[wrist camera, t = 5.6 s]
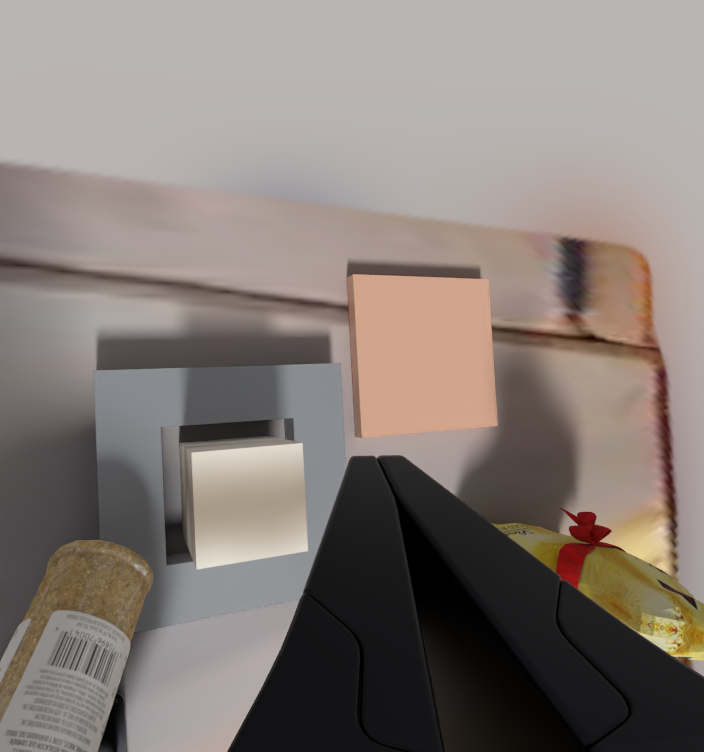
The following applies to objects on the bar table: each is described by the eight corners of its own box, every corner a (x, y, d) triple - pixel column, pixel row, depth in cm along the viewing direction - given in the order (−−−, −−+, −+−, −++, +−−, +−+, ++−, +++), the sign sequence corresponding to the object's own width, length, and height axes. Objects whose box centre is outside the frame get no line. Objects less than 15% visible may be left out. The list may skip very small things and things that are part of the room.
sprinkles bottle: (30, 552, 24) (-229, 1030, 13) (109, 523, 23) (-108, 1027, 12) (103, 601, 26) (-65, 1036, 16) (178, 577, 25) (50, 1034, 14)
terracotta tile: (488, 425, 37) (497, 425, 36) (355, 436, 34) (361, 437, 33) (479, 282, 38) (488, 279, 37) (346, 277, 34) (352, 274, 33)
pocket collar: (340, 578, 33) (352, 588, 31) (105, 623, 28) (103, 639, 26) (329, 365, 33) (340, 363, 31) (96, 372, 28) (93, 370, 26)
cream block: (272, 521, 31) (307, 550, 25) (182, 533, 30) (196, 569, 23) (268, 435, 32) (302, 443, 25) (179, 442, 30) (191, 452, 23)
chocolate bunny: (568, 601, 39) (807, 709, 25) (440, 588, 35) (638, 706, 21) (581, 507, 40) (818, 561, 26) (458, 484, 36) (659, 532, 22)
